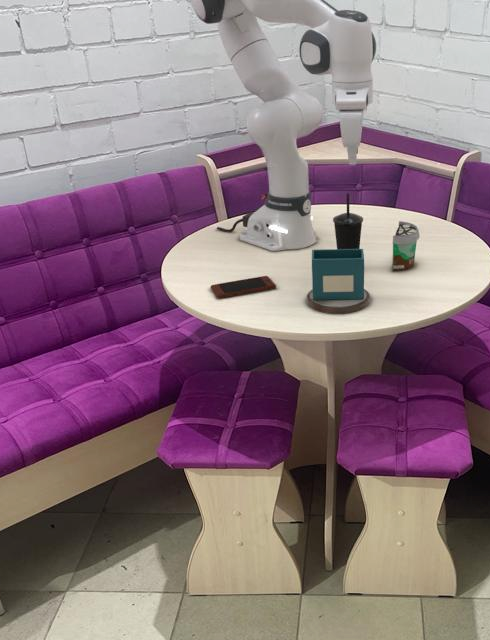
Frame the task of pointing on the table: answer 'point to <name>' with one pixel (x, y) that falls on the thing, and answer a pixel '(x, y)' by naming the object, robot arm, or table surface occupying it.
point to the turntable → (338, 304)
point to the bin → (338, 274)
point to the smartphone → (242, 286)
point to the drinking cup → (348, 229)
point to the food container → (404, 246)
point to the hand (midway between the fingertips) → (353, 159)
